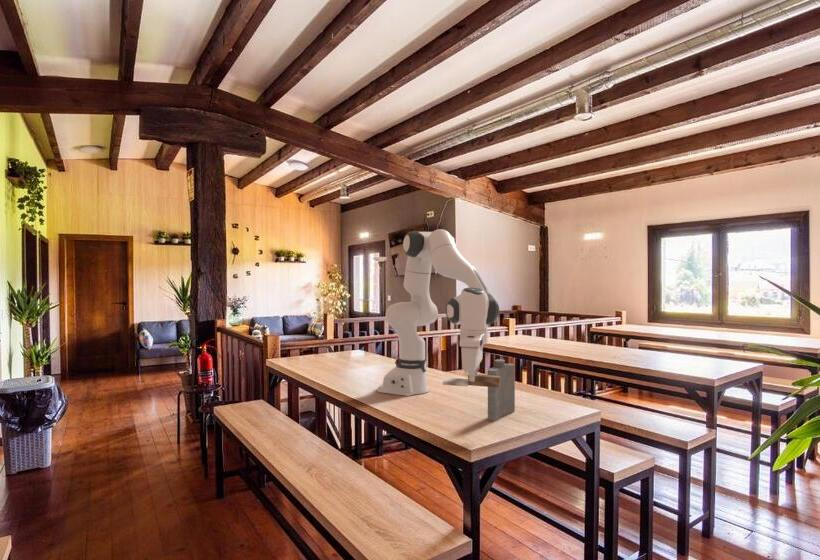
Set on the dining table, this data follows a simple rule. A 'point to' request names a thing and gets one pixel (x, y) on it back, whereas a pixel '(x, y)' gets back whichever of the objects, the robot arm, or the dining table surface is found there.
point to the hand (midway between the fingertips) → (473, 379)
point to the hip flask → (501, 391)
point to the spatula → (479, 381)
